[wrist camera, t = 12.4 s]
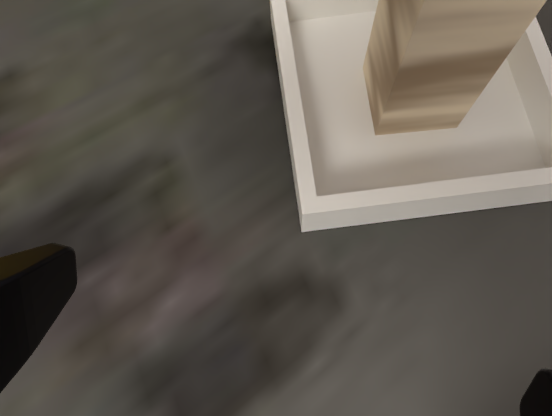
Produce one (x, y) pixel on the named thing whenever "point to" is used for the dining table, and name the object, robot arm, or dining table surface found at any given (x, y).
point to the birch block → (437, 58)
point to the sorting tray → (403, 146)
